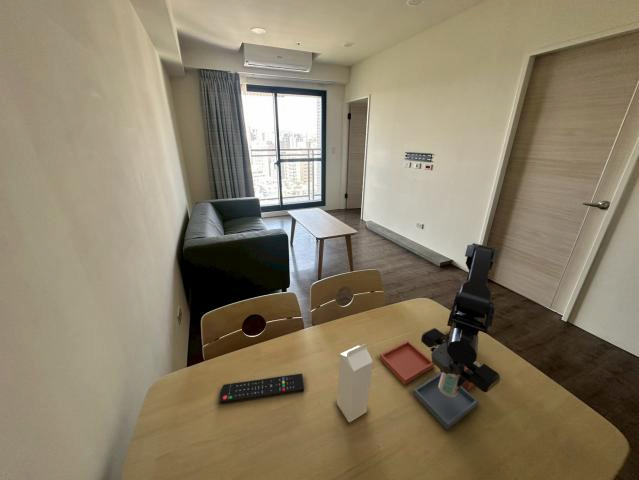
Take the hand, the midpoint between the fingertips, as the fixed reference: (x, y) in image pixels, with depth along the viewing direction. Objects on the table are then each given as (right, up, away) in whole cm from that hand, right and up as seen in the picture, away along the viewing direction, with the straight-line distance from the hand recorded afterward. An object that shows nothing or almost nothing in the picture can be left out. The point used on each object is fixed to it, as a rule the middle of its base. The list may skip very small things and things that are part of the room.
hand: (450, 378), depth 69 cm
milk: (-27, -9, +1) cm, 29 cm away
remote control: (-53, -6, +5) cm, 54 cm away
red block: (+9, -6, +9) cm, 14 cm away
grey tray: (0, -8, +3) cm, 8 cm away
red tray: (-7, -3, +15) cm, 17 cm away
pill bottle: (0, -5, +2) cm, 5 cm away
